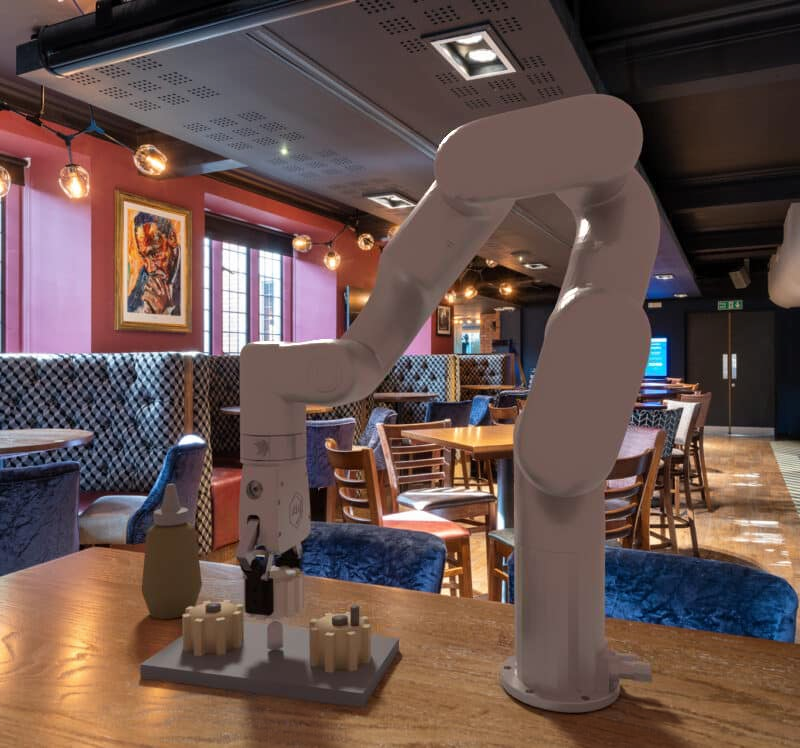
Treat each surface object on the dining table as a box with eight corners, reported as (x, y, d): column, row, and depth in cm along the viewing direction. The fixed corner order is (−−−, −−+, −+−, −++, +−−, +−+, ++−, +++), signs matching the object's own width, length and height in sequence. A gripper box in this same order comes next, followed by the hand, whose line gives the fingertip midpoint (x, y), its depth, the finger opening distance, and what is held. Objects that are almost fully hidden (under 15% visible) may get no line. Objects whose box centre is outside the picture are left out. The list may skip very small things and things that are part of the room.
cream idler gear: (312, 601, 81) (312, 568, 80) (288, 622, 74) (288, 586, 74) (260, 596, 82) (260, 563, 82) (232, 616, 76) (232, 581, 76)
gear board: (399, 650, 82) (398, 588, 81) (362, 708, 68) (362, 634, 68) (207, 629, 88) (207, 572, 88) (140, 677, 75) (139, 610, 75)
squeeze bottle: (183, 625, 90) (182, 491, 89) (129, 621, 91) (127, 489, 91) (212, 604, 97) (211, 480, 97) (161, 600, 99) (160, 478, 99)
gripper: (269, 460, 68) (270, 634, 69) (331, 440, 85) (331, 580, 85) (204, 457, 70) (205, 627, 71) (276, 439, 87) (277, 576, 87)
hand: (274, 600), depth 78 cm, fingers closed on cream idler gear, 6 cm apart
